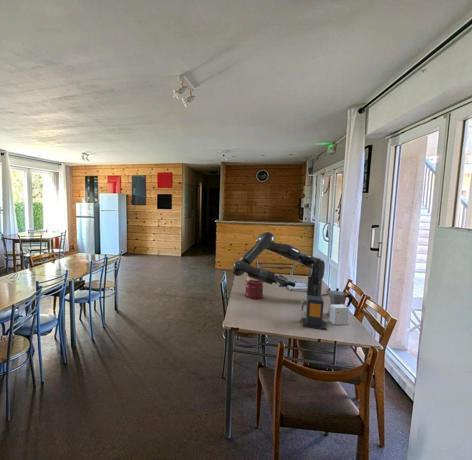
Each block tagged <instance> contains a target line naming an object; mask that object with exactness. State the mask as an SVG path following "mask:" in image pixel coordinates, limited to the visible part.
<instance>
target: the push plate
mask: <svg viewBox="0 0 472 460" xmlns="http://www.w3.org/2000/svg"><path fill="white" fill-rule="evenodd" d="M304 305H305V301H304V298H301V299H300V310H301V311H302V312H304Z"/></svg>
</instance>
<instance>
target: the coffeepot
mask: <svg viewBox="0 0 472 460" xmlns="http://www.w3.org/2000/svg"><path fill="white" fill-rule="evenodd" d="M325 292H326V294H328V295H327V296H328V298H329V303H330V304H329V307H328V311H327V316H328V317H330V305H335V304H343V305H344V302H345V298H349V299H348V302H347V303H346V304H345V306H346V307H348V308H349V307H350V306H351V304H352V302H353V300H354V297H353V296H352V295H351V294H349V293H346V292H344V291H340V288H339V287H336V288H335V290H330V291H329V290H325Z"/></svg>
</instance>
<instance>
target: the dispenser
mask: <svg viewBox="0 0 472 460" xmlns="http://www.w3.org/2000/svg"><path fill="white" fill-rule="evenodd" d="M306 299H307V303H306V307H305V311H302V313H303V315H305V317H301V322H302V327H304V328H309V329H316V330H323V331H327V326H326V323H325V320H323V317H324V316H323V315H324V299H323V296H321V297H319V296H310V295H307V294H306Z"/></svg>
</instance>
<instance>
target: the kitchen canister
mask: <svg viewBox="0 0 472 460" xmlns="http://www.w3.org/2000/svg"><path fill="white" fill-rule="evenodd" d="M245 282H246V283H245V293H244V294H245V297H246V298H249V299H252V300H253V299H254V300H259V299H262V298H263V296H264V285H263V284H264V282H262V281H259V280H257V279H253V278H250V277H248V276H246V280H245Z"/></svg>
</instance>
